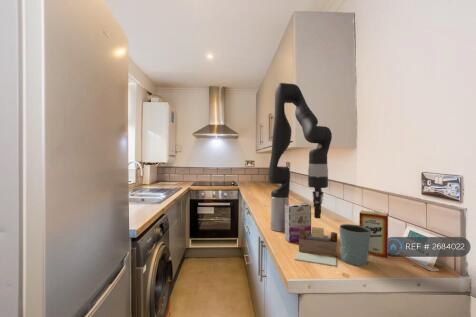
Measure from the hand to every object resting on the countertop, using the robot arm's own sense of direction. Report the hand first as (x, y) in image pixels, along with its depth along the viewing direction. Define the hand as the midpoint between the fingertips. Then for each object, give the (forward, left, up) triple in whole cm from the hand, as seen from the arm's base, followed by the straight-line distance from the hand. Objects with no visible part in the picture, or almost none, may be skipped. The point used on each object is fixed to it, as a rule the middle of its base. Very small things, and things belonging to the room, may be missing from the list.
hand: (317, 215), depth 94 cm
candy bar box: (-11, -9, -14) cm, 20 cm away
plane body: (0, 0, -14) cm, 14 cm away
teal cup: (+4, +13, -14) cm, 20 cm away
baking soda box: (-8, +21, -14) cm, 27 cm away
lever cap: (0, 0, -9) cm, 9 cm away
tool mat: (+8, -1, -14) cm, 16 cm away
